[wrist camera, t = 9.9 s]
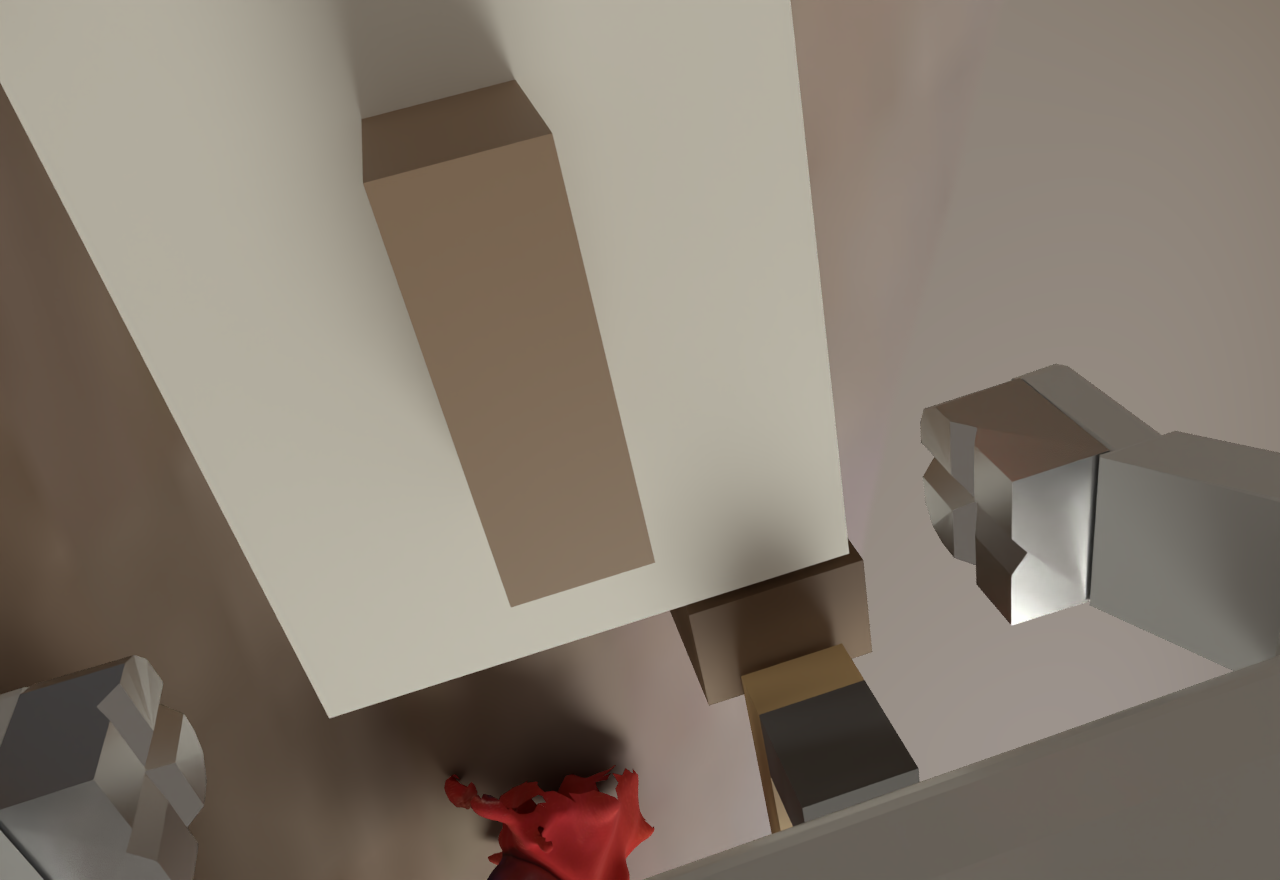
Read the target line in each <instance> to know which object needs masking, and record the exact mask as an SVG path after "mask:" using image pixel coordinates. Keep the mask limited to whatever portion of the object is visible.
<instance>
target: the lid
mask: <svg viewBox="0 0 1280 880" xmlns="http://www.w3.org/2000/svg"><path fill="white" fill-rule="evenodd" d="M0 83H1V85H2V87H3V89H4V91H5V93H6V94H7V96H8V98H9V100H10V102H11V104H12V106H13V108H14V110H15V112H16V114H17V116H18V118H19V120H20V122H21V123H22V125H23V127H24V129H25V131H26V133H27V135H28V137H29V139H30V141H31V143H32V145H33V147H34V149H35V151H36V152H37V154H38V156H39V158H40V160H41V162H42V164H43V166H44V168H45V170H46V172H47V174H48V176H49V178H50V180H51V181H52V183H53V185H54V187H55V189H56V191H57V193H58V195H59V197H60V199H61V201H62V203H63V205H64V207H65V209H66V210H67V212H68V214H69V216H70V218H71V220H72V222H73V224H74V226H75V228H76V230H77V232H78V234H79V236H80V238H81V239H82V241H83V243H84V245H85V247H86V249H87V251H88V253H89V255H90V257H91V259H92V261H93V263H94V265H95V266H96V268H97V270H98V272H99V274H100V276H101V278H102V280H103V282H104V284H105V286H106V288H107V290H108V292H109V294H110V295H111V297H112V299H113V301H114V303H115V305H116V307H117V309H118V311H119V313H120V315H121V317H122V319H123V321H124V323H125V324H126V326H127V328H128V330H129V332H130V334H131V336H132V338H133V340H134V342H135V344H136V346H137V348H138V350H139V352H140V353H141V355H142V357H143V359H144V361H145V363H146V365H147V367H148V369H149V371H150V373H151V375H152V377H153V379H154V381H155V382H156V384H157V386H158V388H159V390H160V392H161V394H162V396H163V398H164V400H165V402H166V404H167V406H168V408H169V410H170V411H171V413H172V415H173V417H174V419H175V421H176V423H177V425H178V427H179V429H180V431H181V433H182V435H183V437H184V439H185V440H186V442H187V444H188V446H189V448H190V450H191V452H192V454H193V456H194V458H195V460H196V462H197V464H198V466H199V468H200V469H201V471H202V473H203V475H204V477H205V479H206V481H207V483H208V485H209V487H210V489H211V491H212V493H213V495H214V497H215V498H216V500H217V502H218V504H219V506H220V508H221V510H222V512H223V514H224V516H225V518H226V520H227V522H228V524H229V526H230V527H231V529H232V531H233V533H234V535H235V537H236V539H237V541H238V543H239V545H240V547H241V549H242V551H243V553H244V554H245V556H246V558H247V560H248V562H249V564H250V566H251V568H252V570H253V572H254V574H255V576H256V578H257V580H258V582H259V583H260V585H261V587H262V589H263V591H264V593H265V595H266V597H267V599H268V601H269V603H270V605H271V607H272V609H273V611H274V612H275V614H276V616H277V618H278V620H279V622H280V624H281V626H282V628H283V630H284V632H285V634H286V636H287V638H288V640H289V641H290V643H291V645H292V647H293V649H294V651H295V653H296V655H297V657H298V659H299V661H300V663H301V665H302V667H303V669H304V670H305V672H306V674H307V676H308V678H309V680H310V682H311V684H312V686H313V688H314V690H315V692H316V694H317V696H318V698H319V699H320V701H321V703H322V705H323V707H324V709H325V711H326V713H327V715H328V717H329V718H332V717H335V716H338V715H342V714H345V713H348V712H351V711H354V710H357V709H361V708H364V707H367V706H370V705H373V704H376V703H379V702H383V701H386V700H389V699H392V698H395V697H398V696H402V695H405V694H408V693H411V692H414V691H417V690H420V689H424V688H427V687H430V686H433V685H436V684H439V683H443V682H446V681H449V680H452V679H455V678H458V677H461V676H465V675H468V674H471V673H474V672H477V671H480V670H484V669H487V668H490V667H493V666H496V665H499V664H502V663H506V662H509V661H512V660H515V659H518V658H521V657H525V656H528V655H531V654H534V653H537V652H540V651H543V650H547V649H550V648H553V647H556V646H559V645H562V644H566V643H569V642H572V641H575V640H578V639H581V638H584V637H588V636H591V635H594V634H597V633H600V632H603V631H606V630H610V629H613V628H616V627H619V626H622V625H625V624H629V623H632V622H635V621H638V620H641V619H644V618H647V617H651V616H654V615H657V614H660V613H663V612H666V611H670V610H673V609H676V608H679V607H682V606H685V605H688V604H692V603H695V602H698V601H701V600H704V599H707V598H711V597H714V596H717V595H720V594H723V593H726V592H729V591H733V590H736V589H739V588H742V587H745V586H748V585H752V584H755V583H758V582H761V581H764V580H767V579H770V578H774V577H777V576H780V575H783V574H786V573H789V572H793V571H796V570H799V569H802V568H805V567H808V566H811V565H815V564H818V563H821V562H824V561H827V560H830V559H834V558H837V557H840V556H843V555H846V554H849V547H848V537H847V528H846V518H845V509H844V500H843V490H842V481H841V471H840V462H839V452H838V443H837V434H836V424H835V415H834V405H833V396H832V387H831V377H830V368H829V358H828V349H827V340H826V330H825V321H824V311H823V302H822V293H821V283H820V274H819V264H818V255H817V246H816V236H815V227H814V217H813V208H812V199H811V189H810V180H809V170H808V161H807V152H806V142H805V133H804V123H803V114H802V105H801V95H800V86H799V76H798V67H797V58H796V48H795V39H794V29H793V20H792V10H791V1H790V0H0Z"/></svg>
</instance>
